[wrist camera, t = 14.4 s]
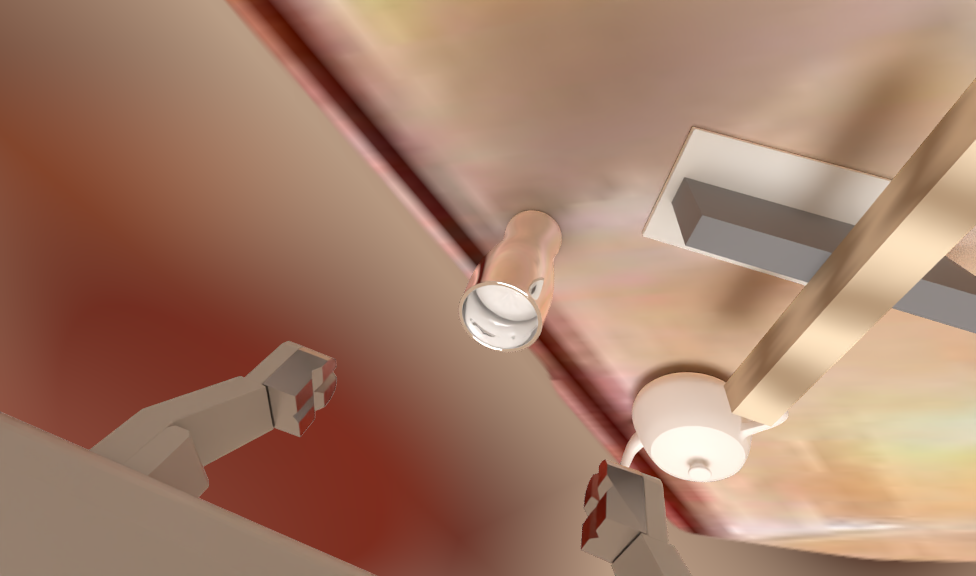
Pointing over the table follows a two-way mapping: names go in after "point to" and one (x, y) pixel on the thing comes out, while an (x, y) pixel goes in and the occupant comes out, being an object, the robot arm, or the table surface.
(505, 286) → the beer glass
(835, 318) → the birch bar
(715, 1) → the table surface
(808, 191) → the stand
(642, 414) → the teapot
